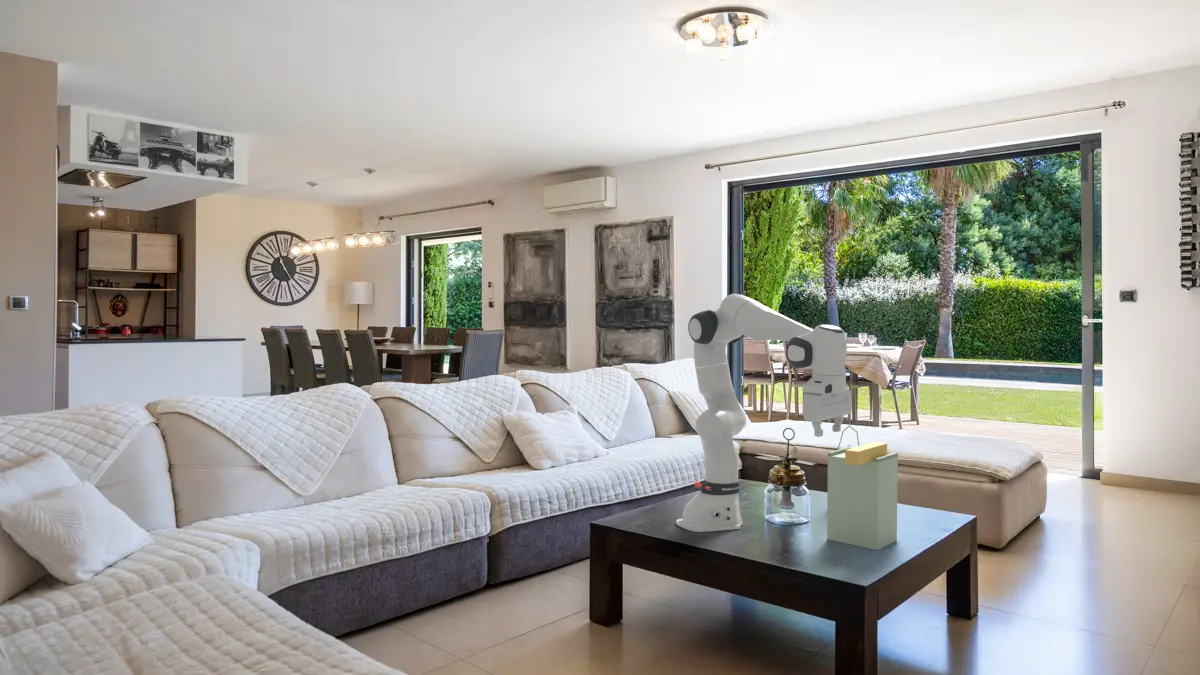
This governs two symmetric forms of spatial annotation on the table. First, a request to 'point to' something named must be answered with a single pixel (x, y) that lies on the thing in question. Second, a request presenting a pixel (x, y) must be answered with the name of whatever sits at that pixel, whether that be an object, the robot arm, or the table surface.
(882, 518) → the sage green slotted block
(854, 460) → the bar
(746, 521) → the table surface
